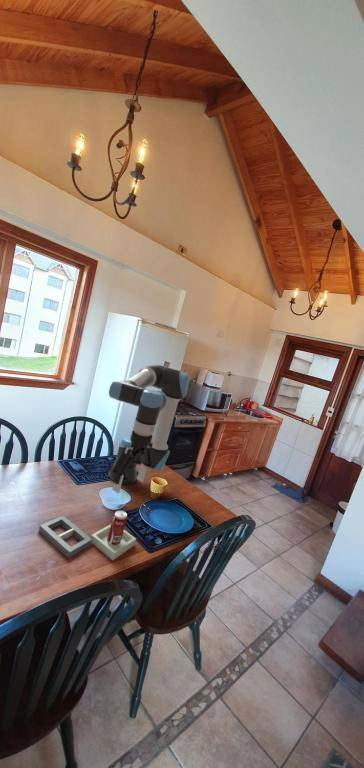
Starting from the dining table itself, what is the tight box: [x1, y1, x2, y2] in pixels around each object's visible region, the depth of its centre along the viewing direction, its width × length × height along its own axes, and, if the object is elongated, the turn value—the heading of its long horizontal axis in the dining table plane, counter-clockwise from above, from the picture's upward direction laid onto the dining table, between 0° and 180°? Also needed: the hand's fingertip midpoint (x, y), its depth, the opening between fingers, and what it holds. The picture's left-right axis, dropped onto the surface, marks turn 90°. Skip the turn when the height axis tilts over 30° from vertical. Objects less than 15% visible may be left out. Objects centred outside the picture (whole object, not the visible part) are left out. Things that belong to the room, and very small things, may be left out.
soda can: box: [107, 509, 128, 546], centre depth 117 cm, size 5×5×12 cm
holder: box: [38, 515, 92, 559], centre depth 113 cm, size 17×10×2 cm, turn 59°
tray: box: [90, 523, 137, 561], centre depth 117 cm, size 12×12×3 cm
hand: (128, 485), depth 114 cm, fingers open, 13 cm apart
